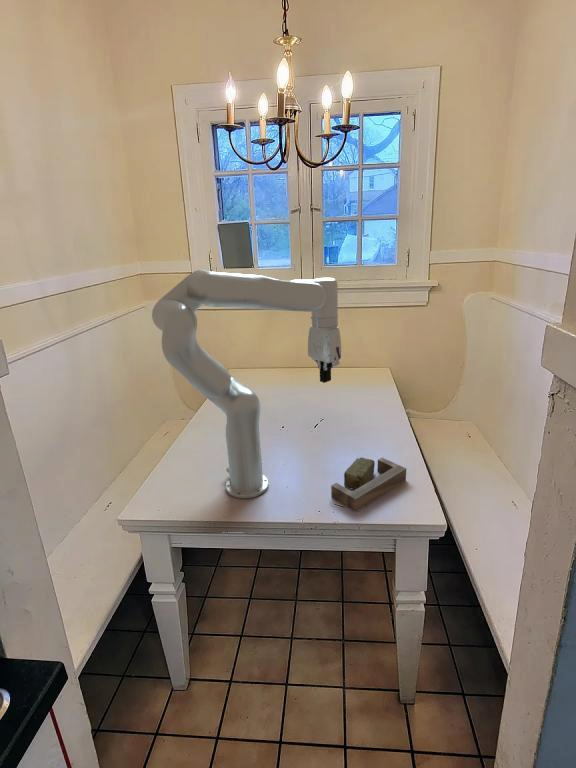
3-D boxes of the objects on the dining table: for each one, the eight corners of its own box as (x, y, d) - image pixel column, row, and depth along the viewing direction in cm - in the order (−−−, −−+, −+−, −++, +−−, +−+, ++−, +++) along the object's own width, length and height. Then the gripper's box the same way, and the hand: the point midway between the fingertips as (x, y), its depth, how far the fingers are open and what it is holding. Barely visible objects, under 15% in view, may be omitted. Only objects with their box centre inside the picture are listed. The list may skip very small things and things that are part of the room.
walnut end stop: (331, 497, 127) (331, 485, 126) (381, 468, 140) (381, 457, 139) (355, 511, 121) (355, 499, 119) (405, 480, 134) (406, 468, 132)
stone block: (375, 473, 138) (375, 459, 136) (361, 493, 129) (361, 478, 127) (357, 468, 141) (357, 454, 139) (342, 487, 132) (342, 473, 130)
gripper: (297, 320, 134) (299, 378, 141) (334, 328, 123) (334, 390, 130) (316, 316, 139) (317, 372, 145) (352, 323, 128) (352, 383, 134)
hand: (325, 381), depth 138 cm, fingers closed
